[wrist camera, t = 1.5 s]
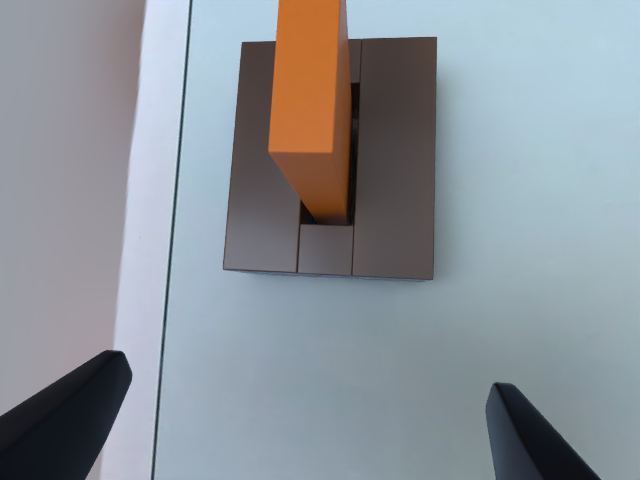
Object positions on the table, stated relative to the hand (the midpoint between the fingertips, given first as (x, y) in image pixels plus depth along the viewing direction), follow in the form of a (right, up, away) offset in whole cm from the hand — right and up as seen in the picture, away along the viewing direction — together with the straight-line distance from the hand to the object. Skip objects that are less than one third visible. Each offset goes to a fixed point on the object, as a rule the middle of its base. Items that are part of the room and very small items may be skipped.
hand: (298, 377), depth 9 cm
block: (+1, +7, +13) cm, 15 cm away
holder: (+1, +7, +13) cm, 15 cm away
